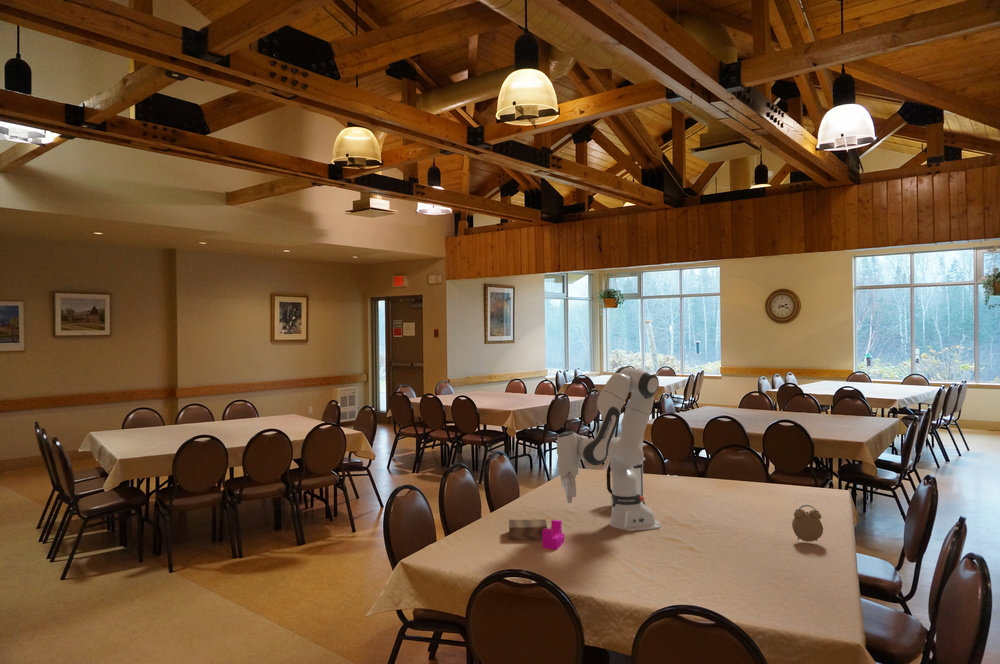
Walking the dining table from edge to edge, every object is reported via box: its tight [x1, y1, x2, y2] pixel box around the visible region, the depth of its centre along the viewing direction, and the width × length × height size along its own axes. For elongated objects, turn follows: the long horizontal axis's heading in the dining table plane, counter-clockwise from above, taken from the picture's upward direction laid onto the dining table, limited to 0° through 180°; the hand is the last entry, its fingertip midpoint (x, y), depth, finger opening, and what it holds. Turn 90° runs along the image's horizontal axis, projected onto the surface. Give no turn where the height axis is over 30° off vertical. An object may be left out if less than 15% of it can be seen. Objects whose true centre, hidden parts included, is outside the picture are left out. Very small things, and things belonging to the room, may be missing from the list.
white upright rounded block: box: [606, 456, 647, 505], centre depth 315 cm, size 17×16×30 cm
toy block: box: [541, 519, 565, 550], centre depth 258 cm, size 15×6×8 cm, turn 158°
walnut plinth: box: [508, 519, 548, 541], centre depth 266 cm, size 16×11×6 cm
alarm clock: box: [791, 504, 824, 543], centre depth 255 cm, size 11×5×15 cm, turn 73°
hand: (569, 502), depth 265 cm, fingers closed
